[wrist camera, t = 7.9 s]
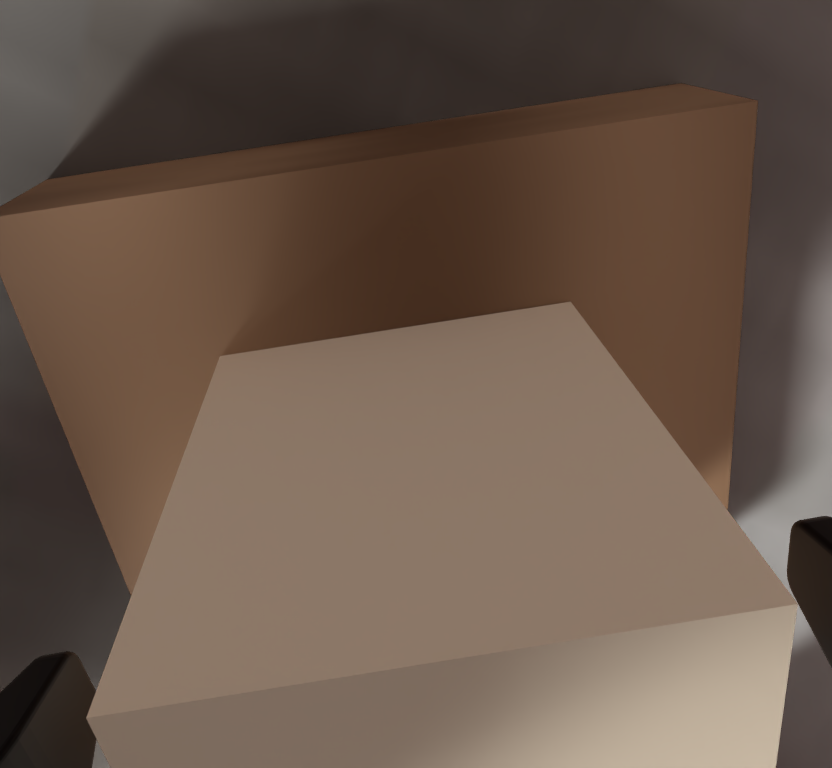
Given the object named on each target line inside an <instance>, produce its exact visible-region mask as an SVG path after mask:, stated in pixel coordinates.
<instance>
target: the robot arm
mask: <svg viewBox="0 0 832 768" xmlns="http://www.w3.org/2000/svg"><path fill="white" fill-rule="evenodd" d="M787 577H788V582H789V585H790V588H791V591H792V593H793V595H794V597H795V598H796V600H797V602H798V604H799V606H800V608H801V610H802V612H803V614H804V616H805V618H806V620H807V622H808V623H809V625H810V627H811V629H812V631H813V633H814V635H815V637H816V639H817V641H818V643H819V645H820V646H821V648H822V650H823V652H824V654H825V656H826V658H827V660H828V662H829V664H830V666H831V668H832V517H829V516H821V517H815V518H810V519H804V520H799V521H797V522H795V523H794V524H793V526H792V528H791V534H790V544H789V554H788V565H787ZM95 693H96V690H95V688H94V686H93V685H92V683H91V681H90V679H89V677H88V675H87V673H86V671H85V669H84V667H83V665H82V663H81V661H80V659H79V658H78V656H77V655H76V654H75V653H73V652H68V651H66V652H61V653H55V654H49V655H44V656H41V657H39V658H37V659H35V660H34V661H33V662H32V663H31V664H30V665H29V666H28V667H27V668H26V669H24V670H23V671H22V672H21V673H20V674H19V675H18V676H17V677H16V678H15V679H14V680H13V681H12V682H11V683H10V684H9V685H8V686H7V687H6V688H5V689H3V690H2V691H1V692H0V768H92V764H93V757H94V751H95V744H96V737H95V735H94V733H93V731H92V729H91V727H90V725H89V723H88V721H87V719H86V717H87V715H88V712H89V709H90V706H91V704H92V701H93V698H94V696H95Z"/></svg>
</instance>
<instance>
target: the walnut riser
mask: <svg viewBox="0 0 832 768" xmlns="http://www.w3.org/2000/svg"><path fill="white" fill-rule="evenodd" d="M757 108H758V101H757V100H753V99H748V98H744V97H739V96H735V95H731V94H726V93H722V92H718V91H713V90H709V89H704V88H700V87H696V86H691V85H687V84H683V83H679V84H672V85H666V86H659V87H653V88H646V89H639V90H633V91H626V92H620V93H613V94H606V95H600V96H593V97H587V98H580V99H574V100H567V101H560V102H554V103H547V104H541V105H534V106H527V107H521V108H514V109H508V110H501V111H495V112H488V113H481V114H475V115H468V116H462V117H455V118H448V119H442V120H435V121H429V122H422V123H416V124H409V125H402V126H396V127H389V128H383V129H376V130H369V131H363V132H356V133H350V134H343V135H337V136H330V137H323V138H317V139H310V140H304V141H297V142H290V143H284V144H277V145H271V146H264V147H257V148H251V149H244V150H238V151H231V152H225V153H218V154H211V155H205V156H198V157H192V158H185V159H178V160H172V161H165V162H159V163H152V164H146V165H139V166H132V167H126V168H119V169H113V170H106V171H99V172H93V173H86V174H80V175H73V176H67V177H60V178H53V179H47V180H45V181H44V182H42V183H40V184H38V185H37V186H35V187H33V188H32V189H30V190H28V191H26V192H25V193H23V194H21V195H19V196H18V197H16V198H14V199H13V200H11V201H9V202H7V203H6V204H4V205H2V206H0V276H1V278H2V281H3V283H4V286H5V288H6V291H7V293H8V295H9V298H10V300H11V303H12V305H13V308H14V310H15V313H16V315H17V318H18V320H19V322H20V325H21V327H22V330H23V332H24V335H25V337H26V340H27V342H28V345H29V347H30V349H31V352H32V354H33V357H34V359H35V362H36V364H37V367H38V369H39V371H40V374H41V376H42V379H43V381H44V384H45V386H46V389H47V391H48V394H49V396H50V398H51V401H52V403H53V406H54V408H55V411H56V413H57V416H58V418H59V420H60V423H61V425H62V428H63V430H64V433H65V435H66V438H67V440H68V443H69V445H70V447H71V450H72V452H73V455H74V457H75V460H76V462H77V465H78V467H79V470H80V472H81V474H82V477H83V479H84V482H85V484H86V487H87V489H88V492H89V494H90V496H91V499H92V501H93V504H94V506H95V509H96V511H97V514H98V516H99V519H100V521H101V523H102V526H103V528H104V531H105V533H106V536H107V538H108V541H109V543H110V545H111V548H112V550H113V553H114V555H115V558H116V560H117V563H118V565H119V568H120V570H121V572H122V575H123V577H124V580H125V582H126V585H127V587H128V590H129V592H130V595H132V593H133V590H134V587H135V585H136V582H137V579H138V577H139V574H140V571H141V568H142V566H143V563H144V560H145V558H146V555H147V552H148V549H149V547H150V544H151V541H152V539H153V536H154V533H155V531H156V528H157V525H158V522H159V520H160V517H161V514H162V512H163V509H164V506H165V503H166V501H167V498H168V495H169V493H170V490H171V487H172V485H173V482H174V479H175V476H176V474H177V471H178V468H179V466H180V463H181V460H182V457H183V455H184V452H185V449H186V447H187V444H188V441H189V439H190V436H191V433H192V430H193V428H194V425H195V422H196V420H197V417H198V414H199V411H200V409H201V406H202V403H203V401H204V398H205V395H206V392H207V390H208V387H209V384H210V382H211V379H212V376H213V374H214V371H215V368H216V365H217V363H218V360H219V357H220V356H224V355H230V354H237V353H243V352H250V351H256V350H263V349H269V348H275V347H282V346H288V345H295V344H301V343H308V342H314V341H320V340H327V339H333V338H340V337H346V336H353V335H359V334H365V333H372V332H378V331H385V330H391V329H398V328H404V327H410V326H417V325H423V324H430V323H436V322H443V321H449V320H455V319H462V318H468V317H475V316H481V315H488V314H494V313H501V312H507V311H513V310H520V309H526V308H533V307H539V306H546V305H552V304H558V303H565V302H571V303H572V304H573V305H574V307H575V308H576V309H577V311H578V312H579V313H580V315H581V316H582V317H583V319H584V320H585V321H586V323H587V324H588V325H589V327H590V328H591V329H592V331H593V332H594V333H595V335H596V336H597V337H598V339H599V340H600V341H601V343H602V344H603V345H604V347H605V348H606V349H607V351H608V352H609V353H610V355H611V356H612V357H613V359H614V360H615V361H616V363H617V364H618V365H619V367H620V368H621V369H622V371H623V372H624V373H625V375H626V376H627V377H628V379H629V380H630V381H631V383H632V384H633V385H634V387H635V388H636V389H637V391H638V392H639V393H640V395H641V396H642V397H643V399H644V400H645V401H646V403H647V404H648V405H649V407H650V408H651V409H652V411H653V412H654V413H655V415H656V416H657V417H658V419H659V420H660V421H661V423H662V424H663V425H664V427H665V428H666V429H667V431H668V432H669V433H670V435H671V436H672V437H673V439H674V440H675V441H676V442H677V444H678V445H679V446H680V448H681V449H682V450H683V452H684V453H685V454H686V456H687V457H688V458H689V460H690V461H691V462H692V464H693V465H694V466H695V468H696V469H697V470H698V472H699V473H700V474H701V476H702V477H703V478H704V480H705V481H706V482H707V484H708V485H709V486H710V488H711V489H712V490H713V492H714V493H715V494H716V496H717V497H718V498H719V500H720V501H721V502H722V504H723V505H724V506H725V508H726V509H727V510H728V499H729V486H730V472H731V459H732V445H733V432H734V418H735V405H736V391H737V378H738V364H739V351H740V337H741V324H742V310H743V297H744V283H745V270H746V256H747V243H748V229H749V216H750V202H751V189H752V175H753V162H754V149H755V135H756V122H757Z"/></svg>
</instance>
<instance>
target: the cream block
mask: <svg viewBox="0 0 832 768" xmlns="http://www.w3.org/2000/svg"><path fill="white" fill-rule="evenodd" d="M797 607H798V604H797V602H796V601H795V600H794V598H793V597H792V596H791V594H790V593H789V592H788V590H787V589H786V588H785V586H784V585H783V584H782V582H781V581H780V580H779V578H778V577H777V576H776V574H775V573H774V572H773V570H772V569H771V568H770V566H769V565H768V564H767V562H766V561H765V560H764V558H763V557H762V556H761V554H760V553H759V552H758V550H757V549H756V548H755V546H754V545H753V544H752V542H751V541H750V540H749V538H748V537H747V536H746V534H745V533H744V532H743V530H742V529H741V528H740V526H739V525H738V524H737V522H736V521H735V520H734V518H733V517H732V516H731V514H730V513H729V512H728V510H727V509H726V508H725V506H724V505H723V504H722V502H721V501H720V500H719V498H718V497H717V496H716V494H715V493H714V492H713V490H712V489H711V488H710V486H709V485H708V484H707V482H706V481H705V480H704V478H703V477H702V476H701V474H700V473H699V472H698V470H697V469H696V468H695V466H694V465H693V464H692V462H691V461H690V460H689V458H688V457H687V456H686V454H685V453H684V452H683V450H682V449H681V448H680V446H679V445H678V444H677V442H676V441H675V440H674V439H673V437H672V436H671V435H670V433H669V432H668V431H667V429H666V428H665V427H664V425H663V424H662V423H661V421H660V420H659V419H658V417H657V416H656V415H655V413H654V412H653V411H652V409H651V408H650V407H649V405H648V404H647V403H646V401H645V400H644V399H643V397H642V396H641V395H640V393H639V392H638V391H637V389H636V388H635V387H634V385H633V384H632V383H631V381H630V380H629V379H628V377H627V376H626V375H625V373H624V372H623V371H622V369H621V368H620V367H619V365H618V364H617V363H616V361H615V360H614V359H613V357H612V356H611V355H610V353H609V352H608V351H607V349H606V348H605V347H604V345H603V344H602V343H601V341H600V340H599V339H598V337H597V336H596V335H595V333H594V332H593V331H592V329H591V328H590V327H589V325H588V324H587V323H586V321H585V320H584V319H583V317H582V316H581V315H580V313H579V312H578V311H577V309H576V308H575V307H574V305H573V304H572V303H571V302H565V303H558V304H552V305H546V306H539V307H533V308H526V309H520V310H513V311H507V312H501V313H494V314H488V315H481V316H475V317H468V318H462V319H455V320H449V321H443V322H436V323H430V324H423V325H417V326H410V327H404V328H398V329H391V330H385V331H378V332H372V333H365V334H359V335H353V336H346V337H340V338H333V339H327V340H320V341H314V342H308V343H301V344H295V345H288V346H282V347H275V348H269V349H263V350H256V351H250V352H243V353H237V354H230V355H224V356H220V357H219V360H218V363H217V365H216V368H215V371H214V374H213V376H212V379H211V382H210V384H209V387H208V390H207V392H206V395H205V398H204V401H203V403H202V406H201V409H200V411H199V414H198V417H197V420H196V422H195V425H194V428H193V430H192V433H191V436H190V439H189V441H188V444H187V447H186V449H185V452H184V455H183V457H182V460H181V463H180V466H179V468H178V471H177V474H176V476H175V479H174V482H173V485H172V487H171V490H170V493H169V495H168V498H167V501H166V503H165V506H164V509H163V512H162V514H161V517H160V520H159V522H158V525H157V528H156V531H155V533H154V536H153V539H152V541H151V544H150V547H149V549H148V552H147V555H146V558H145V560H144V563H143V566H142V568H141V571H140V574H139V577H138V579H137V582H136V585H135V587H134V590H133V593H132V595H131V598H130V601H129V604H128V606H127V609H126V612H125V614H124V617H123V620H122V623H121V625H120V628H119V631H118V633H117V636H116V639H115V641H114V644H113V647H112V650H111V652H110V655H109V658H108V660H107V663H106V666H105V669H104V671H103V674H102V677H101V679H100V682H99V685H98V688H97V690H96V693H95V696H94V698H93V701H92V704H91V706H90V709H89V712H88V715H87V717H86V719H87V721H88V723H89V725H90V727H91V729H92V731H93V733H94V735H95V737H96V739H97V741H98V743H99V745H100V747H101V749H102V751H103V753H104V755H105V757H106V759H107V761H108V763H109V765H110V767H111V768H776V762H777V754H778V747H779V739H780V732H781V725H782V717H783V710H784V703H785V695H786V688H787V680H788V673H789V666H790V658H791V651H792V643H793V636H794V629H795V621H796V614H797Z"/></svg>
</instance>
